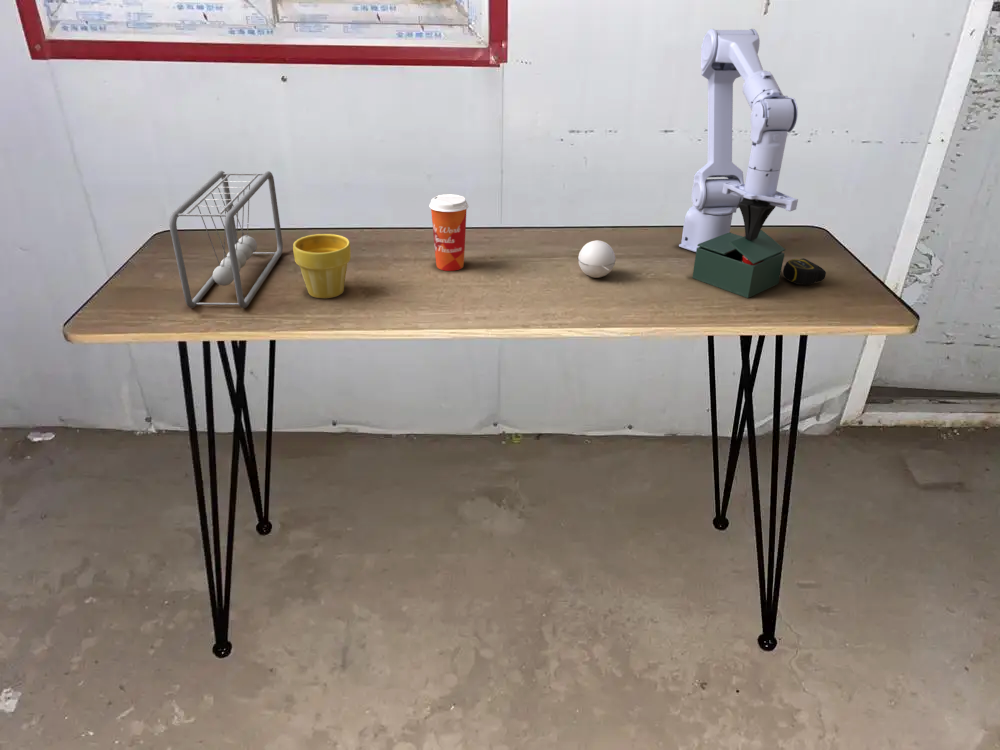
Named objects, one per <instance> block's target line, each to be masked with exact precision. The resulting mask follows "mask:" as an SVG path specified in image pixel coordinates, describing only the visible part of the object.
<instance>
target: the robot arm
mask: <svg viewBox="0 0 1000 750" xmlns="http://www.w3.org/2000/svg"><path fill="white" fill-rule="evenodd" d="M760 42H761V41H760V35H759V33H758V31H757V30H756V29H755V28H750V29H749V28H748V29H715V28H710V29H708V30H707V31H706V33H705V35H704V36H703V39H702V42H701V47H700V70H701V76H702V77H703V78H705V79H706V80H707V161H706V163H705V164H704V165H702V167H700V168H699V169H698V170H697V171H696V172H695V174H694V175H693V184H692V188H691V203H692V205H691V206H690V207H689V208H688V210H687V212H686V213H685V216H684V220H683V227H682V233H681V234H682V235H681V241H680V243H679V244H678V247H679V248H682V249H685V250H688V251H691V252H694V253H696V250H697V248H698V247H700V246H698V244H700V243H702V242H705V241H708V240H710V239H713V238H716V237H718V236H721V235H724V234H726V233H729V232H730V233H731V228H732V227H731V226H732V220H733V215H734V213H737V209H739V210H740V213H741V215H742V219H743V225H744V234H745V235H744V236H745V238H746V239H749V240H754V239H756V238H757V237H758V234H759V232H760V230H762V228H763V226H764V224H765V222H766V220H767V219H768V218H769V216H770V215H771V214H772V212H773V211H774V210H775V209H776V207H777V208H781V209H784V210H785V211H786V212H794V211H797V208H798V207H797V206H798V202H799V198H796V197H792V196H790V195H787V194H785V193H783V192H781V191H778V184H779V180H780V174H781V168H782V165H783V164H782V163H783V160H784V159H783V158H784V153H785V149H786V143H787V138H788V133H790V132H792V131H793V130H794V128H795V126H796V125H797V122H798V121H797V120H798V116H799V112H798V111H799V109H798V104H797V102H796V99H795V98H794V97H792V96H788V95H784V94H783V92H782V90H781V88H780V87H779V84H778V83H777V81H776V79H775V77H774V75H773V73H772V72H771V71H768V70H764V69H763V65H762V63H761V60H760V57H759V55H758V54H759V51H760ZM738 78H742V80H743V81H744V82H743V84H742V94H743V95H744V98H745V100H746V102H747V104H748V106H749V108H750V110H751V112H750V119H749V120H750V135H749V137H750V141H752V142H751V148H750V154H749V158H748V164H747V170H746V175H745V181H744V172H743V170H742V169H741V168H739V166H737V164H735V163H734V162H733V110H734V109H733V108H734V107H733V106H734V103H733V102H734V82H735V81H736V80H737V79H738Z"/></svg>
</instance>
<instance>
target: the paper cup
mask: <svg viewBox="0 0 1000 750" xmlns="http://www.w3.org/2000/svg"><path fill="white" fill-rule="evenodd" d="M429 208H430V212H431V213H430V214H431V223H432V231H433V232H432V235H433V247H434V255H435V265H436V268H437V269H439V270H441V271H445V272H455V271H459V270H462V269H463V268H464V264H465V253H466V252H465V251H466V250H465V249H466V233H467V232H466V231H467V230H466V229H467V228H466V227H467V210H468V208H470V207H469V204H468V202H467V200H466V198H465V196H463V195H460V194H450V193H448V194H447V193H446V194H439V195H436V196H434V197H433V198H431V200H430V203H429Z"/></svg>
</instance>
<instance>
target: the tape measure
mask: <svg viewBox="0 0 1000 750" xmlns="http://www.w3.org/2000/svg"><path fill="white" fill-rule="evenodd" d="M782 274H783V277H784V279H786V280H787V281H789V282H791V283H794V284H795V285H806V286H807V285H813V284H816V283H821V282H823V281H824V280H826V279H825V278H826V276H827V272H826V270H825V269H824V268H823V267H821V266H819V265H818V264H816V263H815V262H812V261H810V260H808V259H806V258H800V259H799V258H792V259H789V260H787V261H786V262H785V264H784V267H783V269H782Z"/></svg>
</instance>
